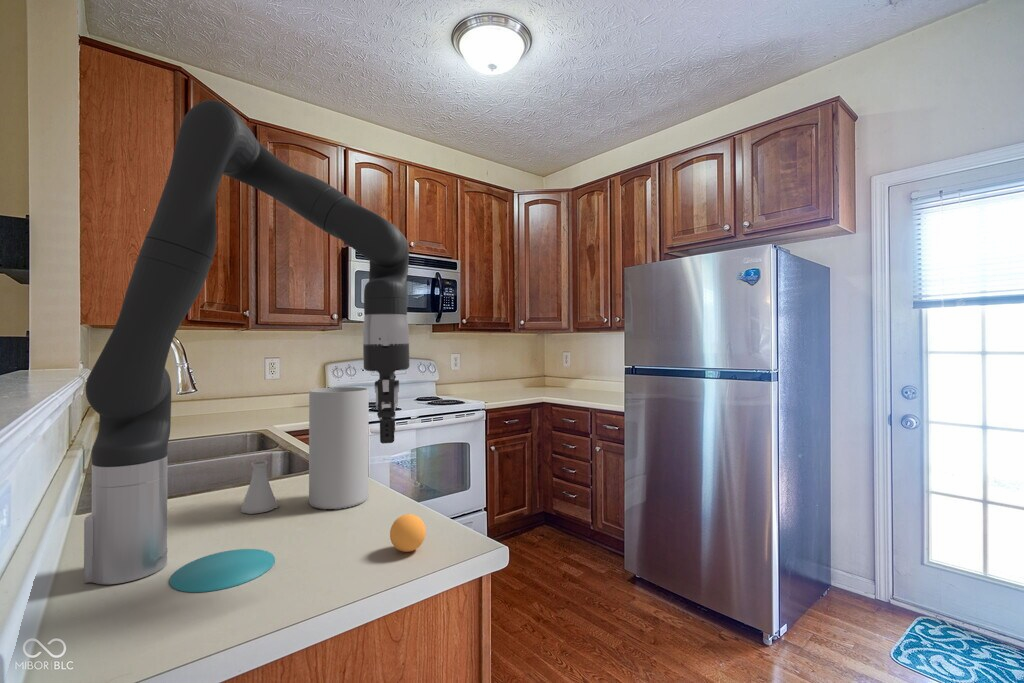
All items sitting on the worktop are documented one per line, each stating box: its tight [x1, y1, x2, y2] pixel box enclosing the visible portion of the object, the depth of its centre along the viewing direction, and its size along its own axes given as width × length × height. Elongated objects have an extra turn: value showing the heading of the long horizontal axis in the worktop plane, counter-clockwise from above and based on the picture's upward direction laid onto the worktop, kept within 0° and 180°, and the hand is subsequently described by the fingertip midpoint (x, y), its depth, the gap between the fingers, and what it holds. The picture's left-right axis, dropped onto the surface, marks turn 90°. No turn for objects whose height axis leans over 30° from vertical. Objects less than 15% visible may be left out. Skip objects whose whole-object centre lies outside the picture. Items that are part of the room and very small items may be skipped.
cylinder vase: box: [308, 386, 370, 510], centre depth 108 cm, size 12×12×25 cm
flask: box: [240, 460, 279, 515], centre depth 103 cm, size 7×7×10 cm
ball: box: [389, 513, 427, 553], centre depth 82 cm, size 6×6×6 cm
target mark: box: [169, 548, 276, 593], centre depth 75 cm, size 14×14×1 cm
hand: (388, 437), depth 81 cm, fingers open, 8 cm apart
